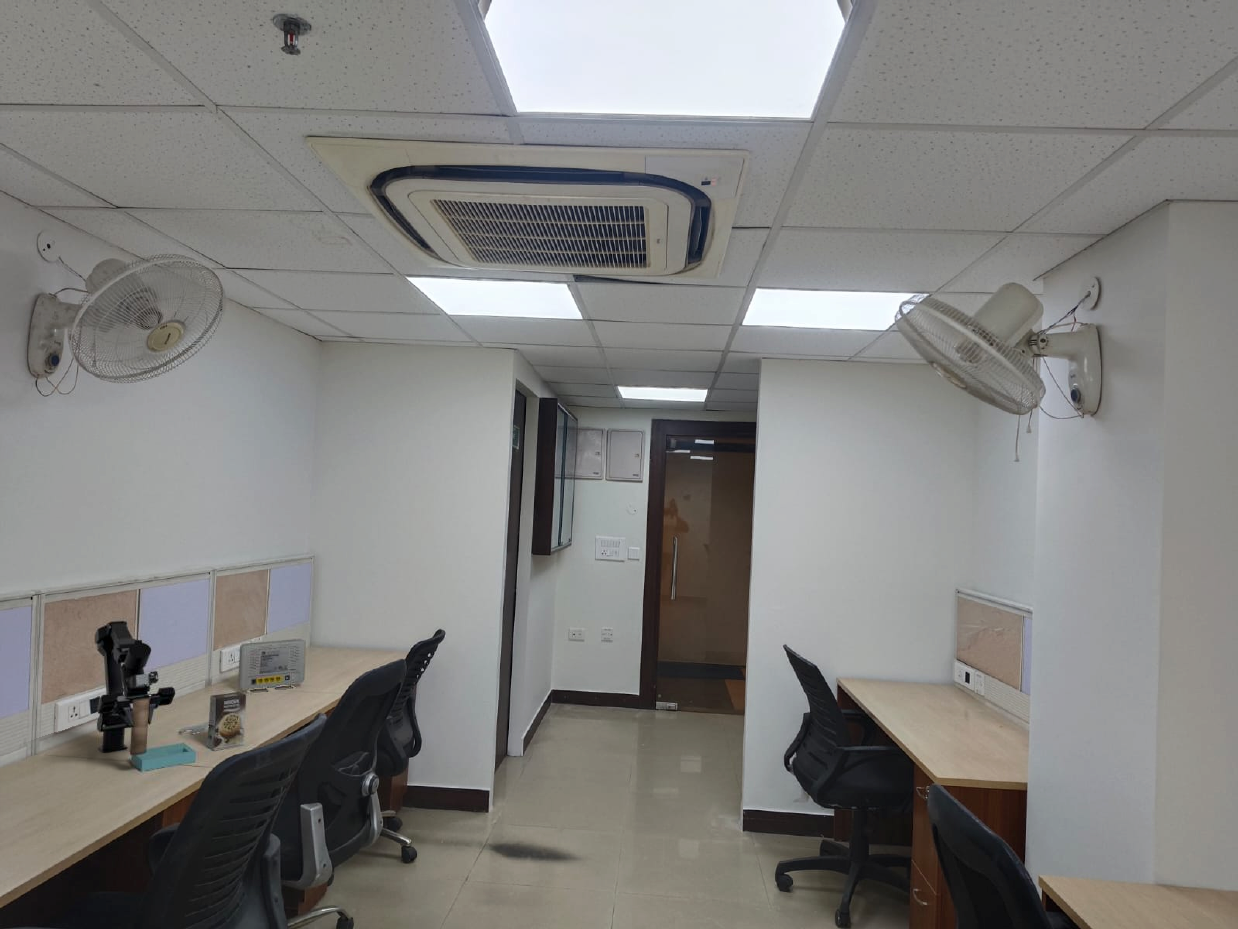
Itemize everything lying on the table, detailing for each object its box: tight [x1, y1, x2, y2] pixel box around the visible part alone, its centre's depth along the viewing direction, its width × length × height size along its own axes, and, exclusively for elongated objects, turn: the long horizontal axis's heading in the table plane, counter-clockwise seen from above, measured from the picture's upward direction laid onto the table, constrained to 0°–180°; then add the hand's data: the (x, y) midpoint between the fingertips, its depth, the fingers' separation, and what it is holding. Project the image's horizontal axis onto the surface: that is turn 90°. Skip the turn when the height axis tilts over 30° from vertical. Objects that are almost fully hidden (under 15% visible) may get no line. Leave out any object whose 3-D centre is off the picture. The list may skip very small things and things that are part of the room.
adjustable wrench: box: [179, 721, 209, 735], centre depth 276 cm, size 25×6×2 cm, turn 164°
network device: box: [237, 638, 307, 691], centre depth 332 cm, size 26×9×20 cm, turn 130°
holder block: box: [130, 742, 197, 772], centre depth 235 cm, size 12×14×3 cm
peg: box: [129, 698, 149, 756], centre depth 226 cm, size 4×4×15 cm
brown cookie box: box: [206, 691, 247, 751], centre depth 252 cm, size 9×6×16 cm
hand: (141, 725), depth 225 cm, fingers closed on peg, 4 cm apart
